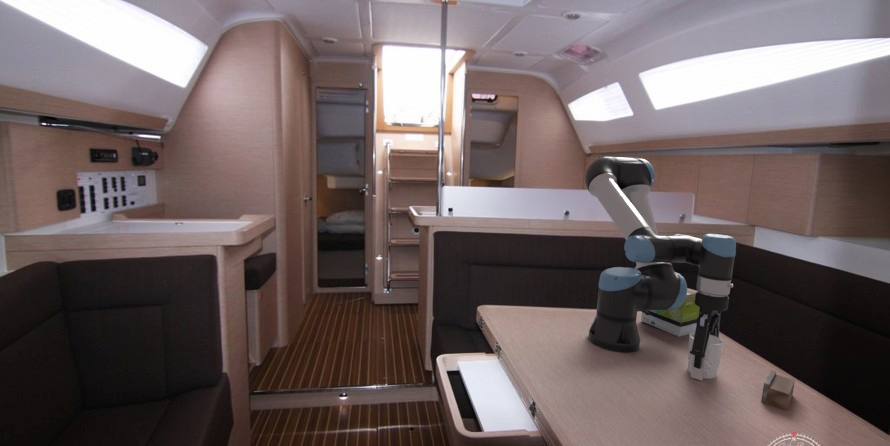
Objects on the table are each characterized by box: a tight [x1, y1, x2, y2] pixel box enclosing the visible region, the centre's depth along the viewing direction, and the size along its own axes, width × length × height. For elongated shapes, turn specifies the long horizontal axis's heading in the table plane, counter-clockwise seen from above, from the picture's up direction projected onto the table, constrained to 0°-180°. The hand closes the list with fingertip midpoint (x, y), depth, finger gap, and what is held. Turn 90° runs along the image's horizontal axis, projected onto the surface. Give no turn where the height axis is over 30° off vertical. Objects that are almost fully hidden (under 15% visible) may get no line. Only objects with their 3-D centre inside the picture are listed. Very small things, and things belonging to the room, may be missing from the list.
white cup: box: [687, 333, 725, 380], centre depth 114 cm, size 8×8×10 cm
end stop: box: [760, 369, 796, 411], centre depth 103 cm, size 5×10×5 cm, turn 134°
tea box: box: [640, 287, 701, 338], centre depth 146 cm, size 15×10×15 cm, turn 28°
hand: (702, 372), depth 114 cm, fingers open, 9 cm apart
